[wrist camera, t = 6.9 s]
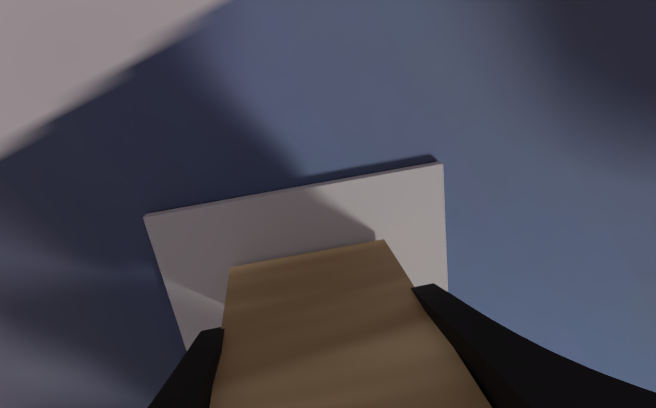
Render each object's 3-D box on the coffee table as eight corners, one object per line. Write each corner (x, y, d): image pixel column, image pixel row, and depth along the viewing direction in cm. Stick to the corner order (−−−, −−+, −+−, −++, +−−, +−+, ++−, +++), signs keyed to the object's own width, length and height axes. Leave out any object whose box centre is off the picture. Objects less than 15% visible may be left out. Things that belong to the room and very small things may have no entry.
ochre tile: (229, 267, 13) (168, 686, 4) (383, 239, 13) (597, 571, 5) (242, 316, 13) (207, 765, 5) (388, 288, 14) (582, 657, 5)
